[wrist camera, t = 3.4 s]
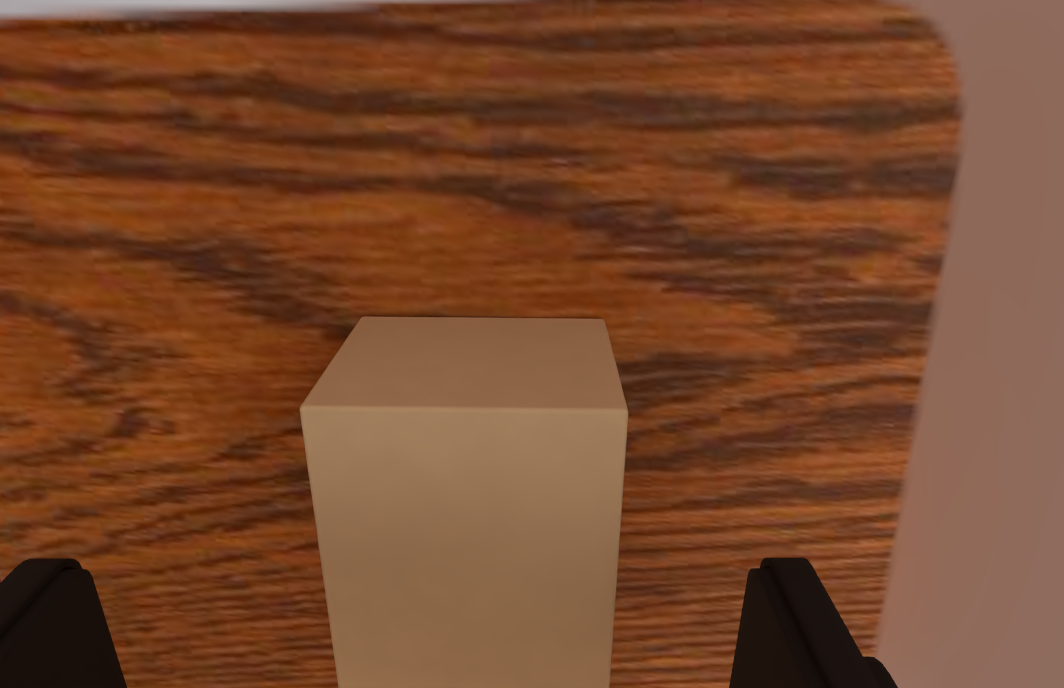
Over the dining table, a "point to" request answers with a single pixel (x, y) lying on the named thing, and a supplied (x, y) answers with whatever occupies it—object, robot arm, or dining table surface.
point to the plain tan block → (469, 501)
